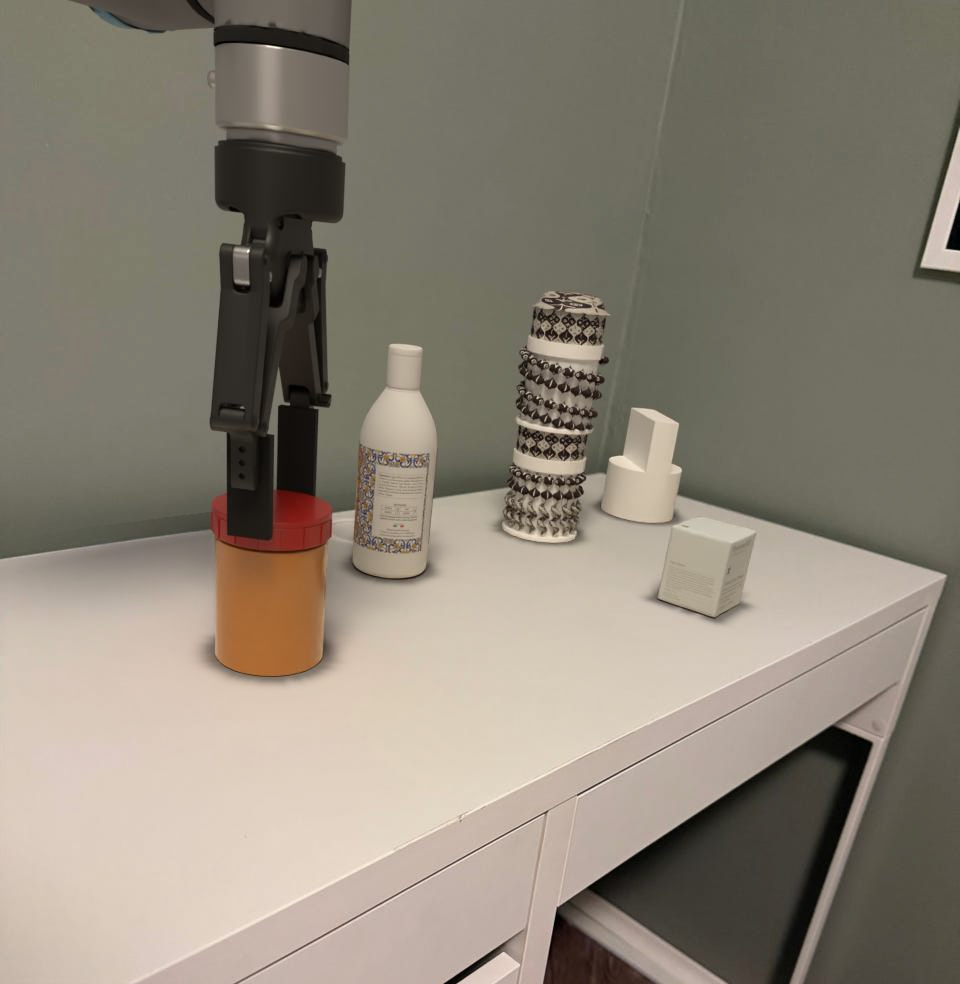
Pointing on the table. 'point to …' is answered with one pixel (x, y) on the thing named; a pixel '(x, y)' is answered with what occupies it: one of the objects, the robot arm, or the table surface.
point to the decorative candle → (555, 416)
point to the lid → (282, 522)
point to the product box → (706, 565)
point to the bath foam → (396, 474)
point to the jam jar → (269, 608)
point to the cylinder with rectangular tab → (644, 470)
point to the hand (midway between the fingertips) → (274, 515)
